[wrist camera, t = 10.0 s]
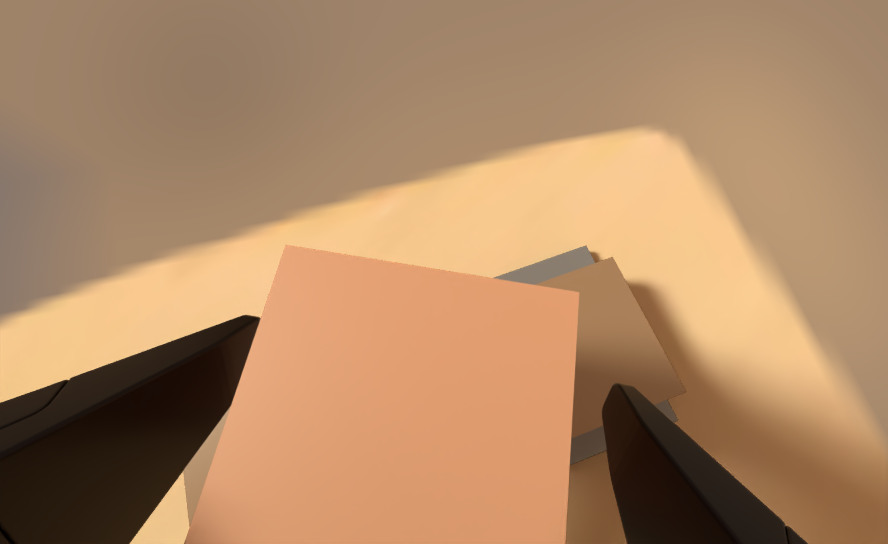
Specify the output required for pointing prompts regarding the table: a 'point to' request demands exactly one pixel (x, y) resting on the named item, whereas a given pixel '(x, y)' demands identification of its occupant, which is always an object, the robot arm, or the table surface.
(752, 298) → the table surface
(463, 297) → the wooden post
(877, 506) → the table surface
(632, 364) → the rail
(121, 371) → the robot arm
